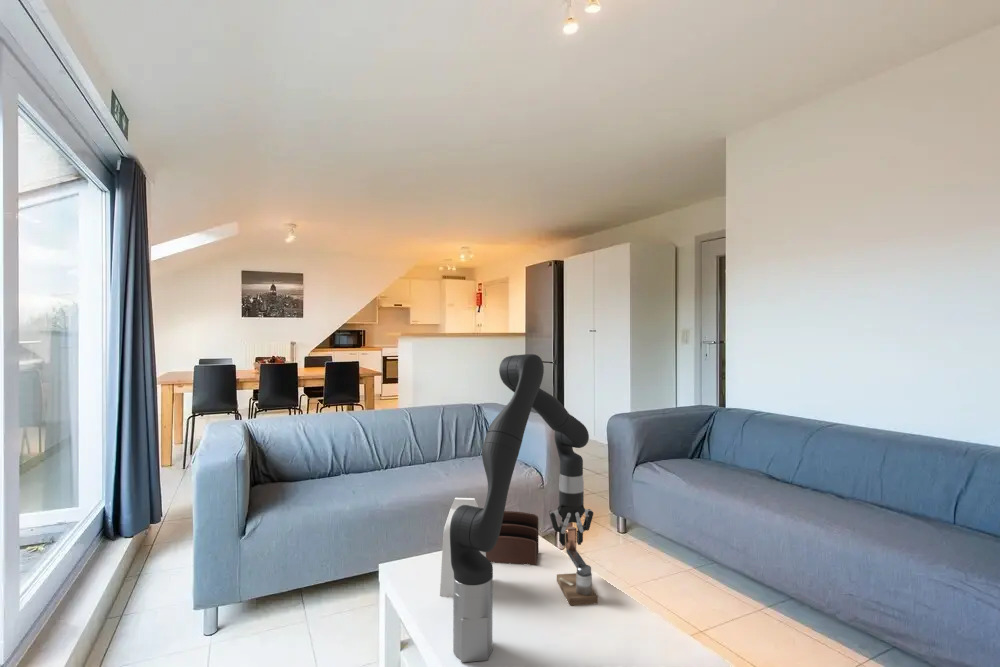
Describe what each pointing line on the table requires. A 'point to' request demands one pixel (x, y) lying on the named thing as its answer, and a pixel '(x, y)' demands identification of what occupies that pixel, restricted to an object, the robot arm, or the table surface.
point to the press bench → (572, 593)
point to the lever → (575, 553)
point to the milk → (446, 567)
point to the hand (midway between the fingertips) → (571, 544)
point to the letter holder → (516, 540)
